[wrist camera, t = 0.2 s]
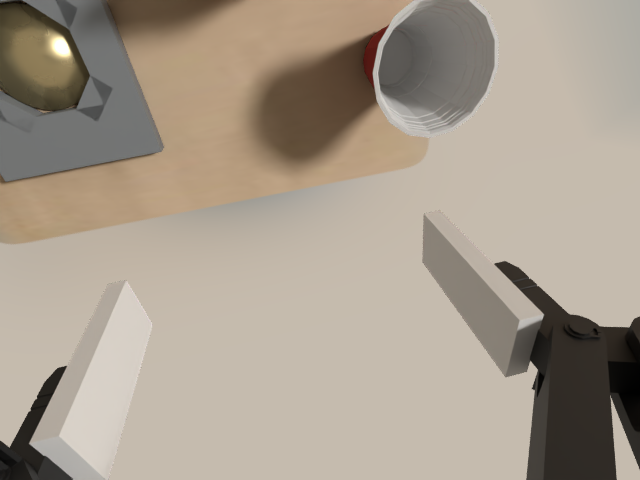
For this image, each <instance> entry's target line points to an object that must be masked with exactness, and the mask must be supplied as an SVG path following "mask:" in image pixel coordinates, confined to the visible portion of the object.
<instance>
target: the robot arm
mask: <svg viewBox="0 0 640 480" xmlns="http://www.w3.org/2000/svg"><path fill="white" fill-rule="evenodd" d="M423 263H424V265H425V266H426V268H427V269H428V270H429V272H430V273H431V274H432V276H433V277H434V279H435V280H436V281H437V283H438V284H439V286H440V287H441V288H442V289H443V291H444V293H445V294H446V295H447V297H448V298H449V299H450V301H451V302H452V304H453V305H454V306H455V308H456V309H457V311H458V312H459V313H460V315H461V316H462V317H463V319H464V320H465V322H466V323H467V324H468V326H469V327H470V329H471V330H472V331H473V333H474V334H475V336H476V337H477V338H478V340H479V341H480V342H481V344H482V345H483V347H484V348H485V349H486V351H487V352H488V354H489V355H490V356H491V358H492V359H493V361H494V362H495V363H496V365H497V366H498V367H499V369H500V370H501V371H502V373H503V374H504V376H505V377H508V376H512V375H516V374H520V373H524V372H527V369H528V366H529V362H530V361H531V362H532V363H533V364H534V365H535V366H536V368H537V369H538V372H537V375H536V378H535V381H534V384H533V388H532V389H533V390H535V396H534V406H533V416H532V427H531V437H530V447H529V458H528V469H527V479H526V480H617V479H616V465H615V452H614V439H613V427H612V426H613V425H612V413H611V399H610V395H611V398H612V400H613V403H614V405H615V408H616V411H617V413H618V416H619V418H620V421H621V423H622V425H623V428H624V431H625V433H626V436H627V438H628V441H629V443H630V446H631V448H632V451H633V454H634V456H635V459H636V461H637V464H638V466H639V469H640V317H638V318H635V319H634V320H633V322H632V324H631V326H630V328H627V327H600V326H598V325H597V324H596V323H594V322H593V321H591V320H589V319H587V318H584V317H581V316H578V315H570V314H568V313H567V312H566V311H565V310H564V309H562V307H561V306H559V305H558V304H557V303H556V302H555V301H554V300H553V299H552V298H551V297H550V296H549V295H548V294H546V293H545V292H544V291H543V290H542V289H541V288H540V287H539V286H537V284H536V283H535V282H533V280H531V279H529V277H528V276H527V275H526V274H525V273H524V272H523V271H522V270H521V269H519V268H518V267H516V266H514V265H512V264H510V263H508V262H506V261H504V262H500V263H495V264H493V263H492V262H491V261H490V260H489V259H488V258H487V257H486V256H485V255H484V254H483V253H482V252H481V251H480V250H479V249H478V248H477V247H476V246H475V245H474V244H473V243H472V242H471V241H470V240H469V239H468V238H467V237H466V236H465V235H464V234H463V233H462V232H461V231H460V230H459V229H458V228H457V227H456V226H455V225H454V224H453V223H452V222H451V221H450V220H449V219H448V218H447V217H446V216H445V215H444V214H443V213H442V212H441V211H440V210H438V211H434V212H429V213H425V214H424V225H423ZM151 329H152V323H151V321H150V319H149V318H148V316H147V314H146V312H145V311H144V309H143V307H142V306H141V304H140V302H139V301H138V299H137V297H136V295H135V294H134V292H133V290H132V289H131V287H130V285H129V284H128V282H127V280H124V281H119V282H115V283H110V284H108V285H107V287H106V289H105V291H104V293H103V295H102V297H101V299H100V301H99V303H98V305H97V307H96V309H95V311H94V313H93V315H92V317H91V319H90V321H89V323H88V325H87V328H86V329H85V331H84V333H83V335H82V337H81V340H80V341H79V343H78V345H77V348H76V349H75V352H74V354H73V356H72V358H71V360H70V362H69V364H68V366H64V367H60V368H57V369H56V370H55V371H54V372H53V374H52V375H51V376H50V377H49V378H48V379H47V380H46V381H45V383H44V384H43V387H42V388H41V390H40V392H39V394H38V396H37V399H36V400H35V401H34V403H33V405H32V407H31V411H30V412H28V414H27V416H26V418H25V420H24V422H23V424H22V426H21V427H20V429H19V431H18V433H17V435H16V437H15V439H14V441H13V442H12V444H11V446H10V448H9V447H8V446H6V445H5V444H4V443H3V442H1V441H0V480H109V476H110V473H111V469H112V466H113V462H114V459H115V455H116V452H117V448H118V445H119V441H120V438H121V434H122V431H123V427H124V424H125V420H126V417H127V413H128V410H129V406H130V403H131V399H132V396H133V392H134V389H135V385H136V382H137V378H138V375H139V371H140V368H141V364H142V361H143V357H144V354H145V350H146V347H147V343H148V340H149V336H150V333H151Z"/></svg>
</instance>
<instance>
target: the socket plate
mask: <svg viewBox="0 0 640 480" xmlns="http://www.w3.org/2000/svg"><path fill="white" fill-rule="evenodd" d="M13 1H19V0H0V3H6V2H13ZM23 1H25V2H26V3H28V4H29V5H25V4H17V3H9V4H2V5H0V87H1V88H2V89H3V90H4V91H5V92H6V93H8V94H9V95H11V96H12V97H11V96H9V95H8V94H6V93H4V92H2V91H0V174H1V176H2V177H3V178H4V180H5V181H6V182H7V181H12V180H17V179H23V178H28V177H33V176H38V175H43V174H48V173H53V172H59V171H64V170H69V169H74V168H79V167H84V166H90V165H95V164H100V163H105V162H110V161H115V160H121V159H126V158H131V157H136V156H141V155H146V154H151V153H157V152H162V150H163V148H164V146H163V143H162V141H161V138H160V136H159V133H158V130H157V128H156V125H155V123H154V120H153V118H152V115H151V113H150V110H149V108H148V105H147V103H146V100H145V98H144V95H143V92H142V90H141V87H140V85H139V82H138V80H137V77H136V75H135V72H134V70H133V67H132V65H131V62H130V60H129V57H128V54H127V52H126V49H125V47H124V44H123V42H122V39H121V37H120V34H119V32H118V29H117V27H116V24H115V22H114V19H113V16H112V14H111V11H110V9H109V6H108V4H107V1H106V0H23ZM30 5H31V6H30ZM79 100H80V101H79ZM78 101H79V104H78V106H77V107H75V108H69V109H64V108H67V107H70V106H72V105H74V104H75V103H77V102H78ZM31 106H32V107H31ZM33 107H35V108H39V109H45V110H58V111H52V112H47V113H42V112H40V111H38V110H36V109H35V108H33ZM59 109H63V110H59Z"/></svg>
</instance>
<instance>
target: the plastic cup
mask: <svg viewBox="0 0 640 480" xmlns="http://www.w3.org/2000/svg"><path fill="white" fill-rule="evenodd" d="M498 41H499V38H498V35H497V32H496V30H495V27H494V24H493V21H492V19H491V16H490V13H489V12H488V11H487V10H486V9H485V8H484V7H483V6H482V5H481V4H480V3H479V2H478V1H477V0H413V1H412V2H411V3H410V4H409V5H407V6H406V7H405V8H404V9H402V10H401V11H400V12H399V13H398V14H396V15H395V16H394V18H393V20H392V21H391V23H390V24H389V25H388V26H387V27H385V28H383V29H381V30H380V31H379V32H377V33H376V34H375V35H374V36H372V38H371V40H370V41H369V43H368V45H367V47H366V49H365V54H364V59H363V63H364V70H365V73H366V75H367V77H368V79H369V81H370V83H371V85H372V86H373V88H374V90H375V94H376V100H377V102H378V104H379V106H380V108H381V109H382V111H383V113H384V114H385V116H386V118H387V119H388V121H389V123H391V124H392V125H394V126H395V127H397V128H398V129H400V130H401V131H403V132H404V133H406V134H407V135H412V136H419V137H427V138H431V137H435V136H438V135H442V134H445V133H448V132H451V131H453V130H455V129H456V128H457V127H459V126H460V125H461V124H463V123H464V122H466V121H467V120H468V119H470V118H471V117H472V116H473V115H474V114H475V113H476V111H477V110H478V108H479V107H480V106H481V104H482V103H483V101H484V100H485V99H486V97H487V96H488V94H489V92H490V89H491V86H492V83H493V80H494V77H495V74H496V71H497V68H498Z"/></svg>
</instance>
